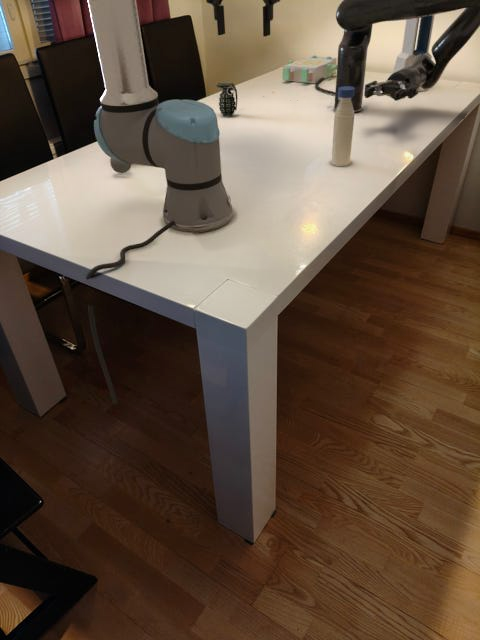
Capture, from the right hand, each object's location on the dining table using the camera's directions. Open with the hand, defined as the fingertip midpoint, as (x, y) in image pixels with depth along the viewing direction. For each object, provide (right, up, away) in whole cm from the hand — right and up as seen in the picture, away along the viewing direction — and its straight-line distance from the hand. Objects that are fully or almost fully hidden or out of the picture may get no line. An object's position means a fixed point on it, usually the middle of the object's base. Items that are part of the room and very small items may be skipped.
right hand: (380, 95), depth 134 cm
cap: (-13, -6, -16) cm, 21 cm away
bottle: (-12, -20, -5) cm, 24 cm away
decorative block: (-9, +42, +75) cm, 87 cm away
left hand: (-38, +14, -5) cm, 41 cm away
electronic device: (+25, +25, +51) cm, 62 cm away
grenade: (-43, +9, +35) cm, 56 cm away
